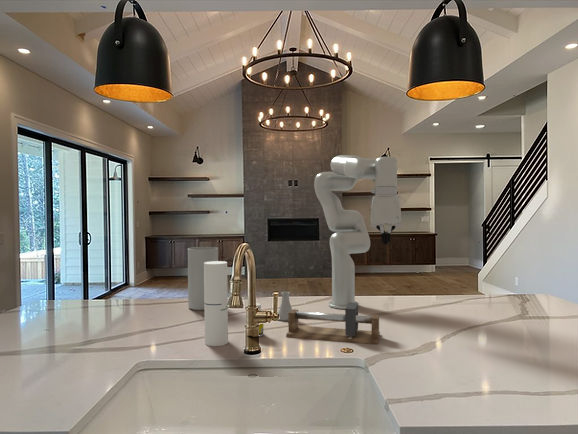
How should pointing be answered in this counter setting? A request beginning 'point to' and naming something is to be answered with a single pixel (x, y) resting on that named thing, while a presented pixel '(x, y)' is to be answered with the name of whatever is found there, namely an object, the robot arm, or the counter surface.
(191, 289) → the cylinder vase
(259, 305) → the supplement bottle
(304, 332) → the pipe stand
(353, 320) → the rubber collar
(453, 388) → the counter surface
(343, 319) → the steel pipe
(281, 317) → the flask
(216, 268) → the cylindrical container
